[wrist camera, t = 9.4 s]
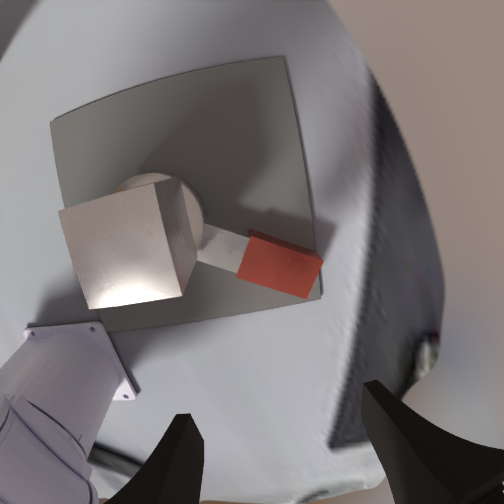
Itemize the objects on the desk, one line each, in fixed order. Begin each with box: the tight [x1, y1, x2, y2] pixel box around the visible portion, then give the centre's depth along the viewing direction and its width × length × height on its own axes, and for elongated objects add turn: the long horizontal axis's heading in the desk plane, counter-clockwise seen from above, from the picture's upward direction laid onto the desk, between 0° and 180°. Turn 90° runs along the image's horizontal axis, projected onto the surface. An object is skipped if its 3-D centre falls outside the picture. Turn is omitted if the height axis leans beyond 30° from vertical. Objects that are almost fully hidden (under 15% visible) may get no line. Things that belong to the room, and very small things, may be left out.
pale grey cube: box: [58, 176, 198, 310], centre depth 14 cm, size 5×5×5 cm
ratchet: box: [113, 172, 323, 299], centre depth 16 cm, size 13×6×5 cm, turn 70°
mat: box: [50, 57, 321, 332], centre depth 18 cm, size 16×16×1 cm
